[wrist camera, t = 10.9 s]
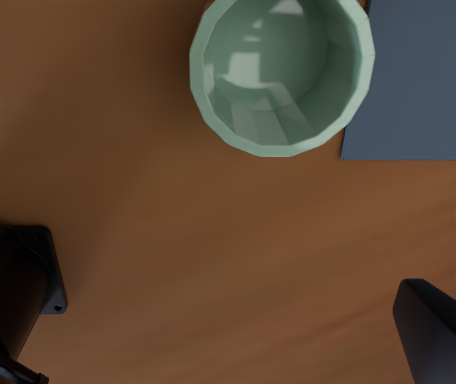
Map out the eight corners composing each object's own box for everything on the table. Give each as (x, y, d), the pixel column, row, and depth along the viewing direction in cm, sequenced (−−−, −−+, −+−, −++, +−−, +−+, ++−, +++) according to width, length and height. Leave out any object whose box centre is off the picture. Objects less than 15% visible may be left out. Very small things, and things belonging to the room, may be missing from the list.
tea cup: (324, 117, 20) (356, 157, 16) (195, 117, 20) (191, 157, 15) (345, -30, 17) (393, -32, 13) (192, -34, 17) (186, -37, 12)
